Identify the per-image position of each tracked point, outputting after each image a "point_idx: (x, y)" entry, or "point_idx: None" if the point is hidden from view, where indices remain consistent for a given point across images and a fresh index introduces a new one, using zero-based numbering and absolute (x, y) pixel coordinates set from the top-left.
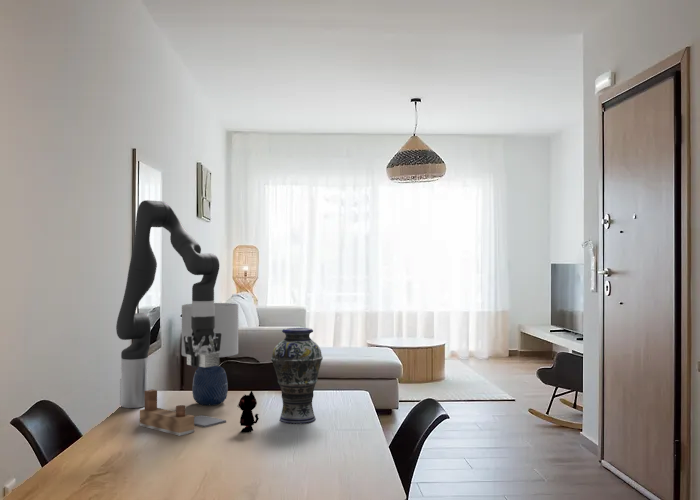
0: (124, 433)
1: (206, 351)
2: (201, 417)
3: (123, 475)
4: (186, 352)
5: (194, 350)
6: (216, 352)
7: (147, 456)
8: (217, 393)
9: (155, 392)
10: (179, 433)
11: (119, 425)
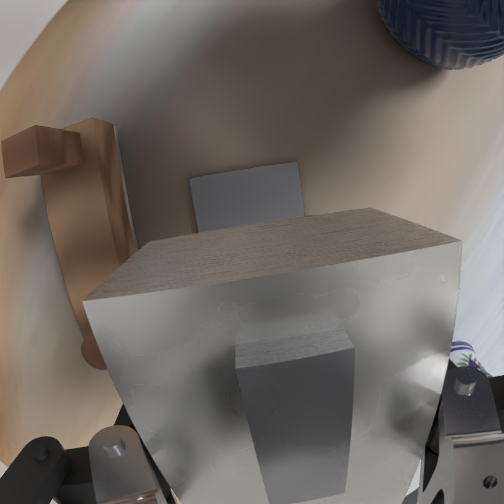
0: (11, 208)
1: (413, 408)
2: (273, 196)
3: (6, 438)
4: (33, 464)
5: (151, 492)
6: (398, 499)
7: (30, 408)
8: (444, 62)
9: (36, 167)
10: None
11: (33, 101)
